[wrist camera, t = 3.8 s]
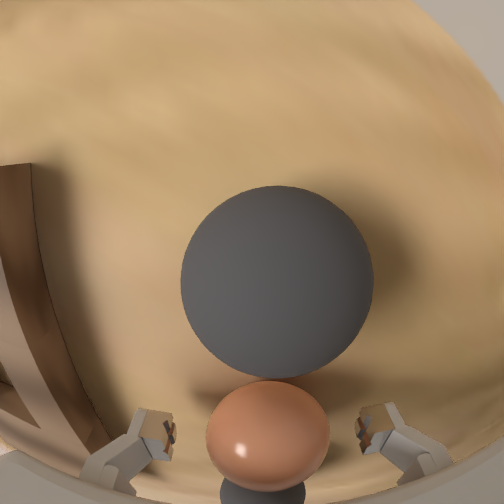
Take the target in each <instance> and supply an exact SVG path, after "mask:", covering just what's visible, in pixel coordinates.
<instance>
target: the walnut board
mask: <svg viewBox="0 0 504 504" xmlns="http://www.w3.org/2000/svg"><path fill="white" fill-rule="evenodd" d="M0 361H1V363H2V365H3V367H4V369H5V371H6V373H7V375H8V377H9V379H10V380H11V382H12V384H13V386H14V387H12V386H9V385H7V384H5V383H3V382H1V381H0V437H1V438H2V439H3V440H4V441H5V442H6V443H7V444H9V445H10V446H12V447H14V448H15V449H17V450H20V451H23V452H25V453H27V454H28V455H30V456H32V457H34V458H36V459H38V460H40V461H42V462H44V463H46V464H48V465H50V466H52V467H54V468H56V469H58V470H61V471H63V472H65V473H67V474H70V475H72V476H75V477H77V478H79V475H80V473H81V471H82V468H83V466H84V464H85V461H86V459H87V457H88V456H90V455H92V454H93V453H95V452H96V451H98V450H100V449H101V448H103V447H104V446H106V445H107V444H109V443H110V442H112V440H111V439H110V437H109V435H108V434H107V432H106V430H105V429H104V427H103V425H102V423H101V421H100V420H99V418H98V416H97V414H96V412H95V410H94V409H93V407H92V405H91V403H90V401H89V399H88V397H87V395H86V393H85V390H84V388H83V386H82V384H81V382H80V380H79V377H78V375H77V373H76V371H75V368H74V366H73V363H72V361H71V358H70V356H69V353H68V351H67V348H66V346H65V343H64V340H63V337H62V334H61V332H60V329H59V326H58V323H57V319H56V316H55V313H54V310H53V306H52V303H51V299H50V296H49V292H48V288H47V284H46V280H45V276H44V271H43V267H42V262H41V257H40V251H39V246H38V240H37V233H36V227H35V219H34V210H33V200H32V187H31V163H25V164H15V165H6V166H0Z"/></svg>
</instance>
